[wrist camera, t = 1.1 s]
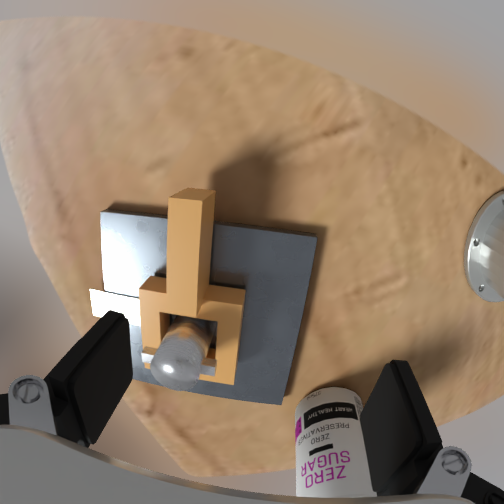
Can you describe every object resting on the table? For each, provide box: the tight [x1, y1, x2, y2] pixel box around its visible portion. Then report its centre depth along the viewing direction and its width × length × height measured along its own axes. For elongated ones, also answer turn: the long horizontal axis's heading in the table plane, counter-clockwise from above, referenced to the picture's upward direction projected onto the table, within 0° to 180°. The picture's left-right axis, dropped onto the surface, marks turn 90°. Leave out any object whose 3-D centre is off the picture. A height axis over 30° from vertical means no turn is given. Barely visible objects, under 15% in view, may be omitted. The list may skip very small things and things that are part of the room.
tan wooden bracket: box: [139, 188, 246, 385], centre depth 26 cm, size 9×18×5 cm, turn 174°
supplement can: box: [295, 387, 377, 498], centre depth 27 cm, size 8×8×15 cm
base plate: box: [90, 209, 317, 405], centre depth 27 cm, size 22×20×9 cm
